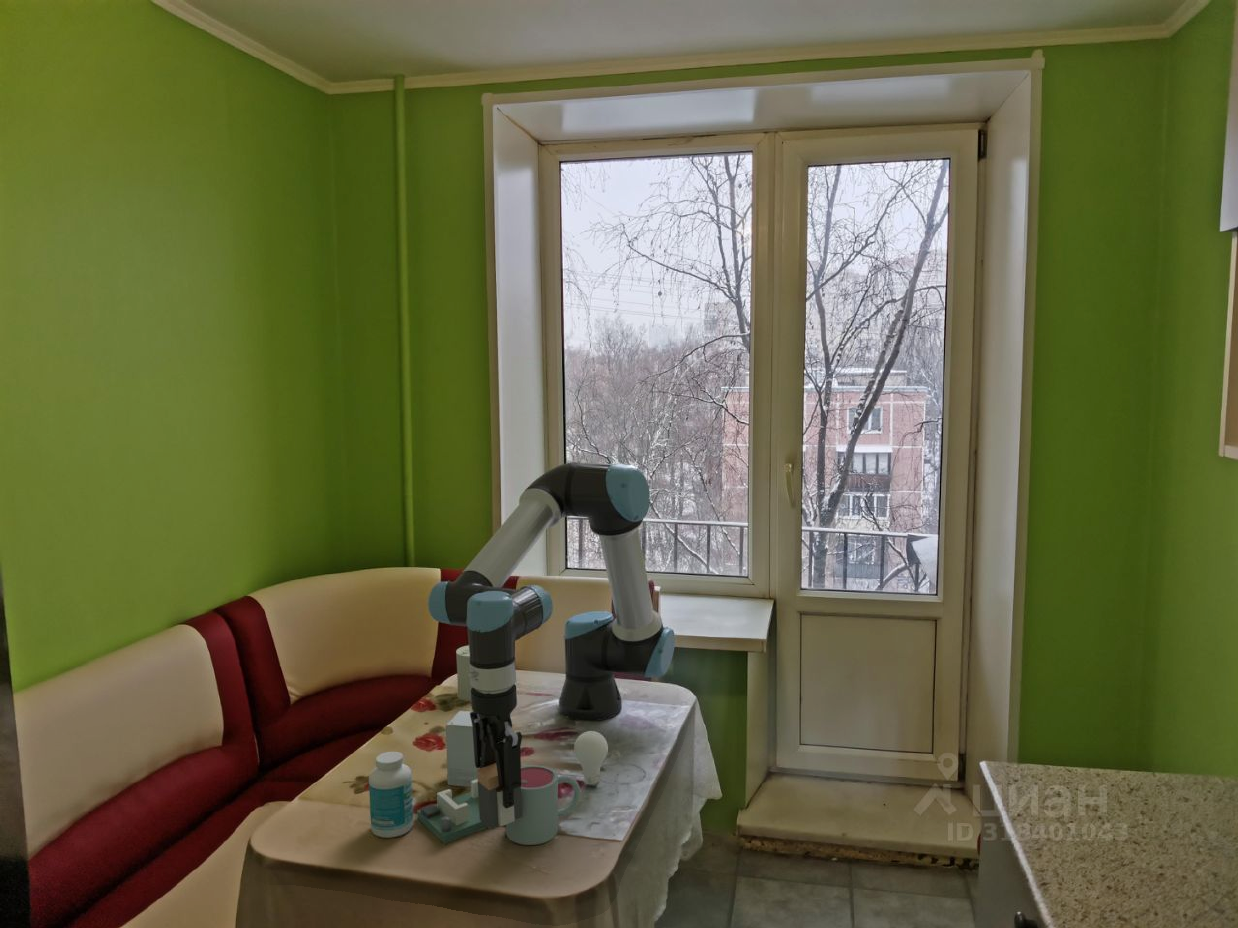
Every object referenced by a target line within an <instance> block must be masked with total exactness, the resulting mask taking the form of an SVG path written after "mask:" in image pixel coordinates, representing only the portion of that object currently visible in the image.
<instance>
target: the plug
mask: <svg viewBox="0 0 1238 928" xmlns="http://www.w3.org/2000/svg"><path fill="white" fill-rule="evenodd" d="M477 779H478V797H479V815H480V820H481V821H482V822H483V823H484V824H485V825H487V826H488V827H487V828H489V829H490V830H494V829H496V828H500V826H499V825H498V805H497V791H496V788H497V787H499V780H498V773H497V766H496V763H494V764H492V765H489V766H486V767H483V768H481V769H478V770H477ZM513 792H514V818H515V820H516V819H518V818H520V817H522V799H521V786H520V787H518V788H515V789H513Z"/></svg>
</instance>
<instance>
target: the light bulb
mask: <svg viewBox="0 0 1238 928" xmlns="http://www.w3.org/2000/svg"><path fill="white" fill-rule="evenodd" d="M573 746H574V747H573V752H574V755H575V756H574V757H575V758H576V759H577V761H578V762H579V764H580V766H581V769H582V775H584V776H583V783H584V784H585V785H586V786H588V787H595V786H597V785H598V784H599V783H600V776H599V775H600V773H601V767H602V764H603V763H604V761H605V759H606V757H607V755H608V750H609V746H608V742H607V739H606V738H605V736H603V734H601V733H600V732H598V731H594V730H588V731H585V732H582V733H580V734H579V736H578V737H577V738H576V740H575V742H574V745H573Z"/></svg>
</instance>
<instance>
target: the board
mask: <svg viewBox="0 0 1238 928" xmlns="http://www.w3.org/2000/svg"><path fill="white" fill-rule="evenodd" d="M470 788H471V789H470V791H468V792H466V793H463V794H460V795H458V796H454V797H453V792H452V790H451V789H450V788H448V789H444V790H442V791H439V792H437V793H436V800H437V801H436V802H437V803H435V804H434V803H431V804H428V805H425V806H423V807H420V809H417V810H416V812H417V813H416V814H417V815H416V817H417V819H418V820H419V821H420V822H421V823H422V824H423V825H424V826H425V827H426V828H427V829H428V830H429V831H430V832H431V833H432V834H434V836H436V837H437V839H438V840H440V842H441V843H443V844H444V845H445V844H448V843H450V842H451V843H452V842H453V841H456V840H459V839H461V838H463V837H465V836H469V835H471V834H474V833H477V832H479V831H482V830H484V829H487V828H489V827H488V826H487V825H485V824H484V823H483V822H482V821H481V820H480V815H479V797H478V779H476V780H473V781H471V787H470Z"/></svg>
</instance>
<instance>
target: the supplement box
mask: <svg viewBox="0 0 1238 928" xmlns="http://www.w3.org/2000/svg"><path fill="white" fill-rule="evenodd" d="M470 712H471V711H466V710H465V711H464V710H459V711H458V712H457V713H456V714H455V715H454V716H453V717H452V718H451V719H450V720H449V721H448V722H447V723H446V724H445V738H446V739H445V740H446V741H445V745H446V771H447V772H446V775H447V776H446V777H447V785H448V786H456V787H457V786H458V787H465V788H466V787H467V788H471V781H473V780H476V779H477V770H478V769H480V768H476V766H475V757H474V742H473V727H472V722H471V717H470ZM480 760H481V758H480Z"/></svg>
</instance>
